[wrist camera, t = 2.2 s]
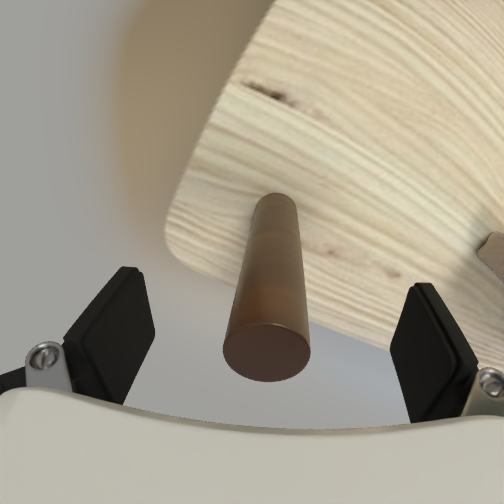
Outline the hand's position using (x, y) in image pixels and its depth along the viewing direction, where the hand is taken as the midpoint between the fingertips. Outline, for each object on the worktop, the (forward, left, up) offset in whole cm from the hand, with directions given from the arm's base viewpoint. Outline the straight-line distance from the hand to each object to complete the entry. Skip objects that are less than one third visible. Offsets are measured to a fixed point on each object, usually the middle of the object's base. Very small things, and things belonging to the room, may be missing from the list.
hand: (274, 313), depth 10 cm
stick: (0, 0, -9) cm, 9 cm away
